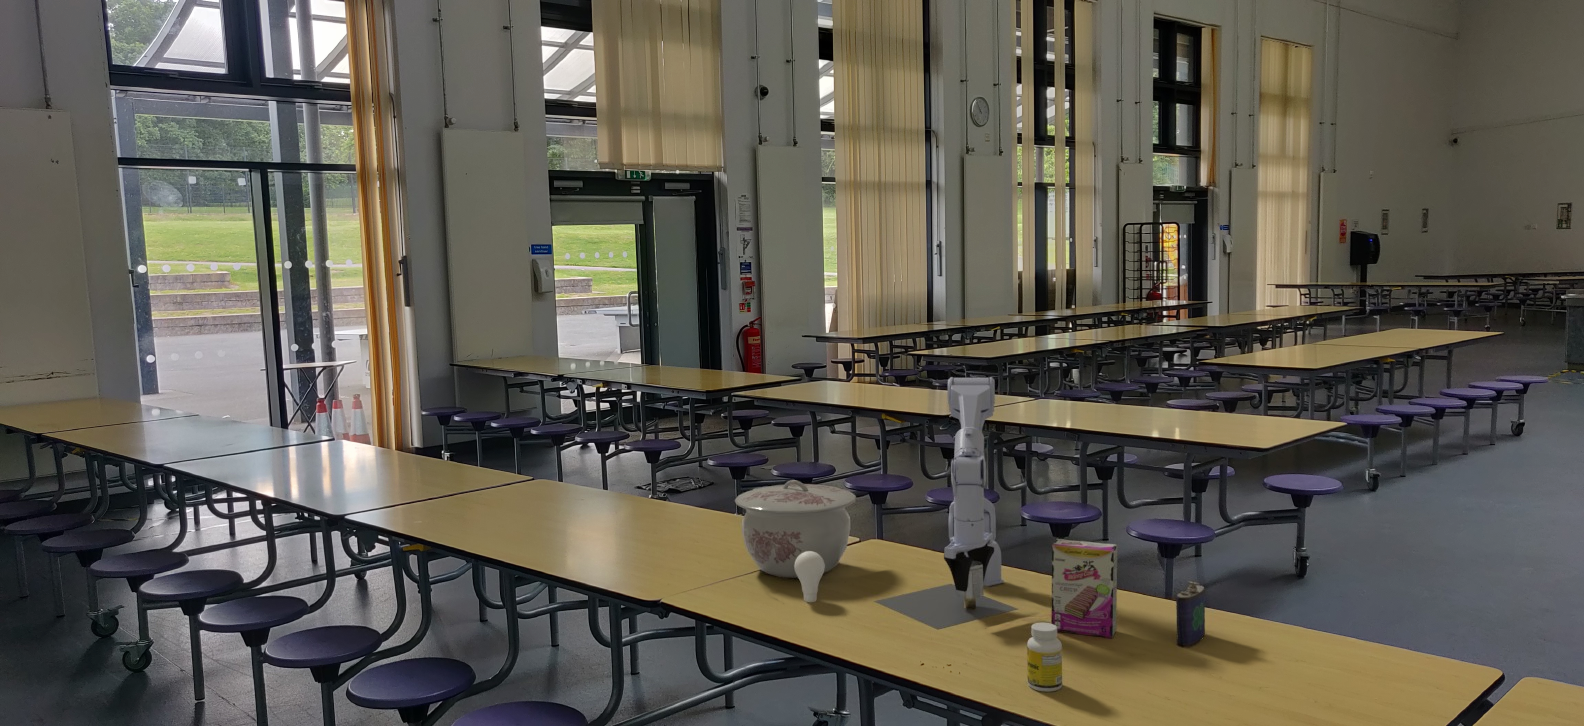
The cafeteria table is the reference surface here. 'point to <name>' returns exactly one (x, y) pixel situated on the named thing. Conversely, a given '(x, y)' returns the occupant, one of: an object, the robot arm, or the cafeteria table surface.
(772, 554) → the chamber pot
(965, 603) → the tan rounded cylinder
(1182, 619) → the flask
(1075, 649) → the cafeteria table surface
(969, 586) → the cylinder
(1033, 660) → the supplement bottle
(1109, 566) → the candy bar box
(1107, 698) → the cafeteria table surface
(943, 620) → the base board
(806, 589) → the lightbulb
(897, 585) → the cafeteria table surface
